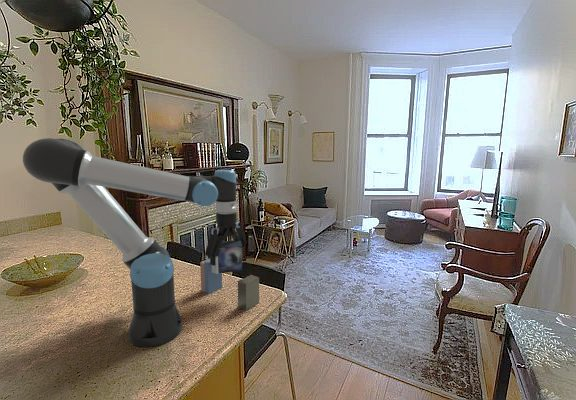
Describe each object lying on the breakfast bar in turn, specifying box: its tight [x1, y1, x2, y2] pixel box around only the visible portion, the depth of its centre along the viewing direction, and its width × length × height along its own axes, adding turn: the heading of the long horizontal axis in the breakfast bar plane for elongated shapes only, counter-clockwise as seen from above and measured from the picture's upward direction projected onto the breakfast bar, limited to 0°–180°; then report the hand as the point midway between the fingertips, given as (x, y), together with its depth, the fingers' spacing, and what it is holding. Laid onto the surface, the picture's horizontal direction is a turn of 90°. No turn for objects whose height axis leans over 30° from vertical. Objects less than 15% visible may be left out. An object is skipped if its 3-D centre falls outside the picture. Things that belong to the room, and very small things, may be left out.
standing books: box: [199, 258, 223, 295], centre depth 119 cm, size 7×5×13 cm, turn 145°
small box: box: [213, 240, 243, 274], centre depth 112 cm, size 11×6×10 cm, turn 106°
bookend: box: [237, 274, 260, 312], centre depth 107 cm, size 7×4×10 cm, turn 145°
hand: (227, 267), depth 113 cm, fingers closed on small box, 11 cm apart
